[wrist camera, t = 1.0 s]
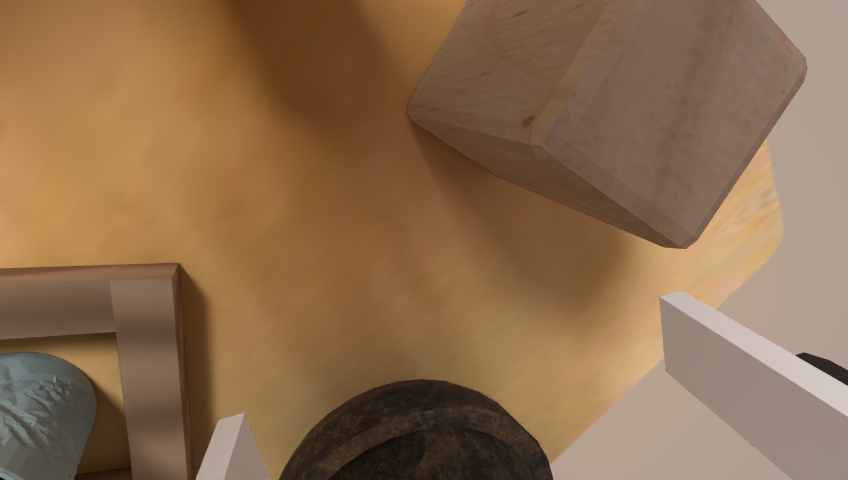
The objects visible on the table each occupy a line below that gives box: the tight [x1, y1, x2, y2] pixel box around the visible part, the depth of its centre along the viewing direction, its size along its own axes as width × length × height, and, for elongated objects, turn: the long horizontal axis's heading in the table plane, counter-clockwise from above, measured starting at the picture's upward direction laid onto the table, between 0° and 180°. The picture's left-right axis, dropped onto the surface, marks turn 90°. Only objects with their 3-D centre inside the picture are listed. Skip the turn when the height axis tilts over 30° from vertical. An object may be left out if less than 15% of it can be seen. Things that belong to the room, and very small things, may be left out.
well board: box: [0, 263, 194, 480], centre depth 34 cm, size 20×20×3 cm
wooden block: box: [407, 0, 807, 249], centre depth 29 cm, size 10×10×20 cm
